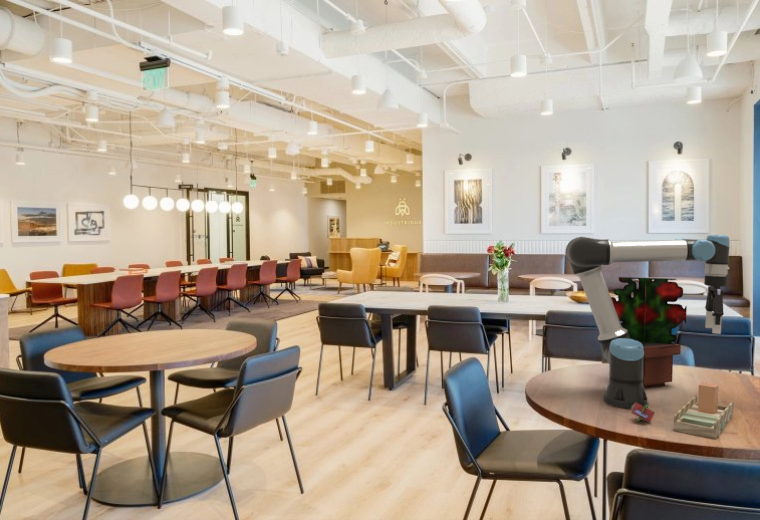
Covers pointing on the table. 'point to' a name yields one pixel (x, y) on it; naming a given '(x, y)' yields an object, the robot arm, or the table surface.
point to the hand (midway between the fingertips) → (712, 330)
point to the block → (708, 398)
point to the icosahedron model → (642, 412)
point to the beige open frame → (702, 420)
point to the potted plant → (652, 323)
